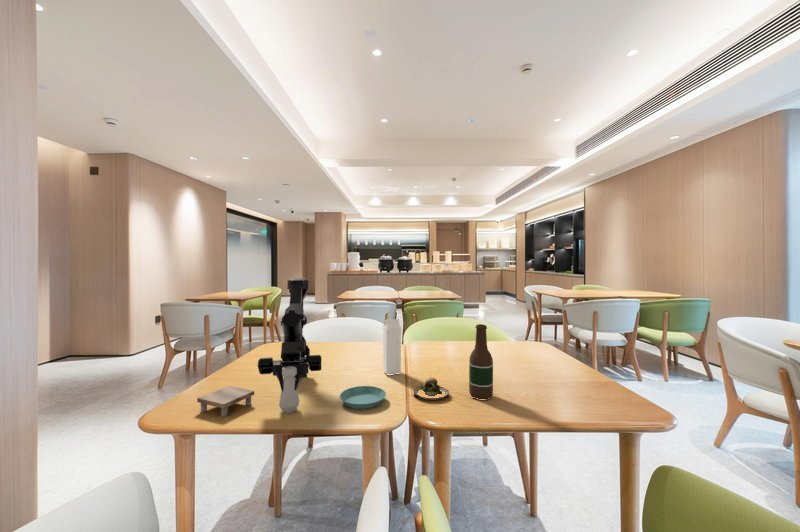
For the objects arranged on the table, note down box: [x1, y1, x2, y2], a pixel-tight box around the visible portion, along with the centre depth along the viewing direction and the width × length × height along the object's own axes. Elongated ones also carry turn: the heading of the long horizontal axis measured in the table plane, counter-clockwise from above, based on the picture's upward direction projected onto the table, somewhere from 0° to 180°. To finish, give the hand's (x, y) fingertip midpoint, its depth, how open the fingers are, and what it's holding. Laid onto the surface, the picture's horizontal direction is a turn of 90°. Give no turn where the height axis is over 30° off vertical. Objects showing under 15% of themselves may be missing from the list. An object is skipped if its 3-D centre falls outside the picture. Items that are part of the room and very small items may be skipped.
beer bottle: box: [468, 323, 494, 399], centre depth 112 cm, size 8×8×24 cm
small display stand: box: [196, 385, 255, 418], centre depth 102 cm, size 11×11×4 cm
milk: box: [382, 318, 402, 374], centre depth 136 cm, size 6×6×22 cm
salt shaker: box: [278, 366, 300, 414], centre depth 100 cm, size 6×6×13 cm
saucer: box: [339, 385, 387, 410], centre depth 107 cm, size 15×15×3 cm
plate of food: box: [413, 376, 450, 400], centre depth 113 cm, size 12×12×8 cm
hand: (288, 390), depth 99 cm, fingers closed on salt shaker, 3 cm apart
